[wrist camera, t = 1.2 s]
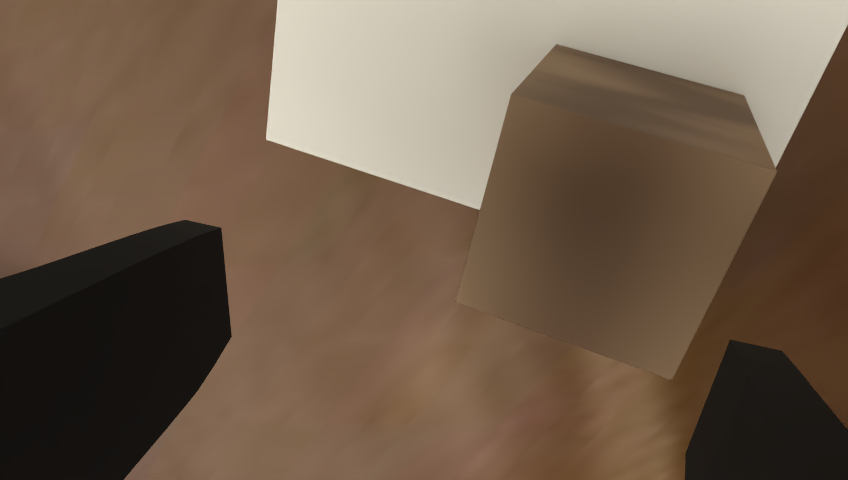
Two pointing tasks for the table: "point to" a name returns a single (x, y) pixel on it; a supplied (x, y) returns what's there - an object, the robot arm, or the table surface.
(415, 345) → the table surface
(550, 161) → the walnut block
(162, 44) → the table surface
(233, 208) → the table surface
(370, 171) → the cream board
